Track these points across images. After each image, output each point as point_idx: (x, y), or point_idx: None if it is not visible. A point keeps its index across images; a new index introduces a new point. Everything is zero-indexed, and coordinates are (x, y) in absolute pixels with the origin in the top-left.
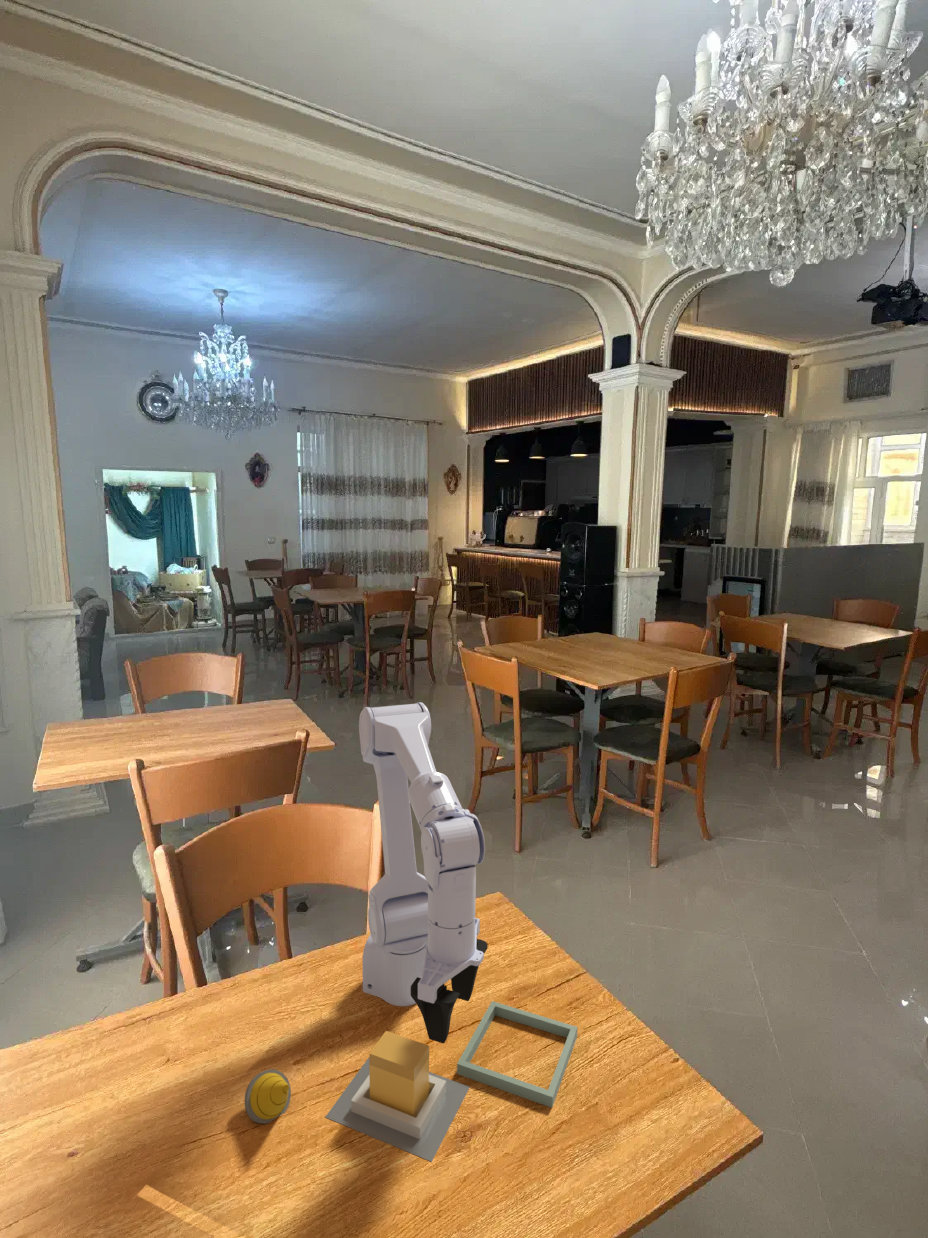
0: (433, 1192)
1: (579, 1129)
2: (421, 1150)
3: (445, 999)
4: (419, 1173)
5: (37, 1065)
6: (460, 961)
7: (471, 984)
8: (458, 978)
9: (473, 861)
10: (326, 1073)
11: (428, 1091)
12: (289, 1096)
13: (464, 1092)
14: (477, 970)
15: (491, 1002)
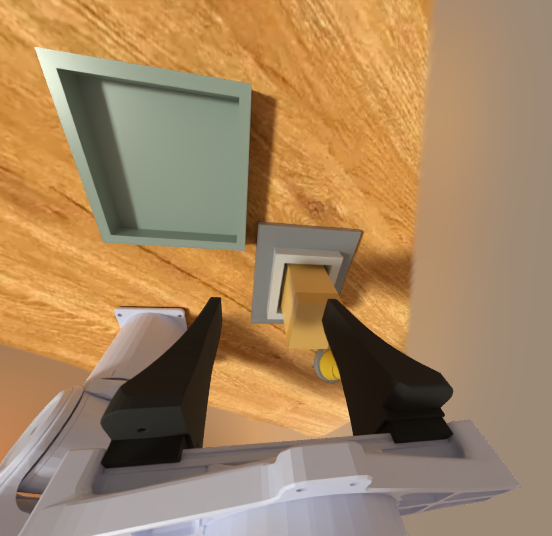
0: (382, 219)
1: (265, 23)
2: (350, 245)
3: (434, 401)
4: (363, 237)
5: (319, 431)
6: (389, 505)
7: (212, 322)
8: (212, 349)
9: None
10: (281, 338)
11: (289, 265)
12: (322, 351)
13: (269, 228)
14: (180, 338)
15: (107, 242)
